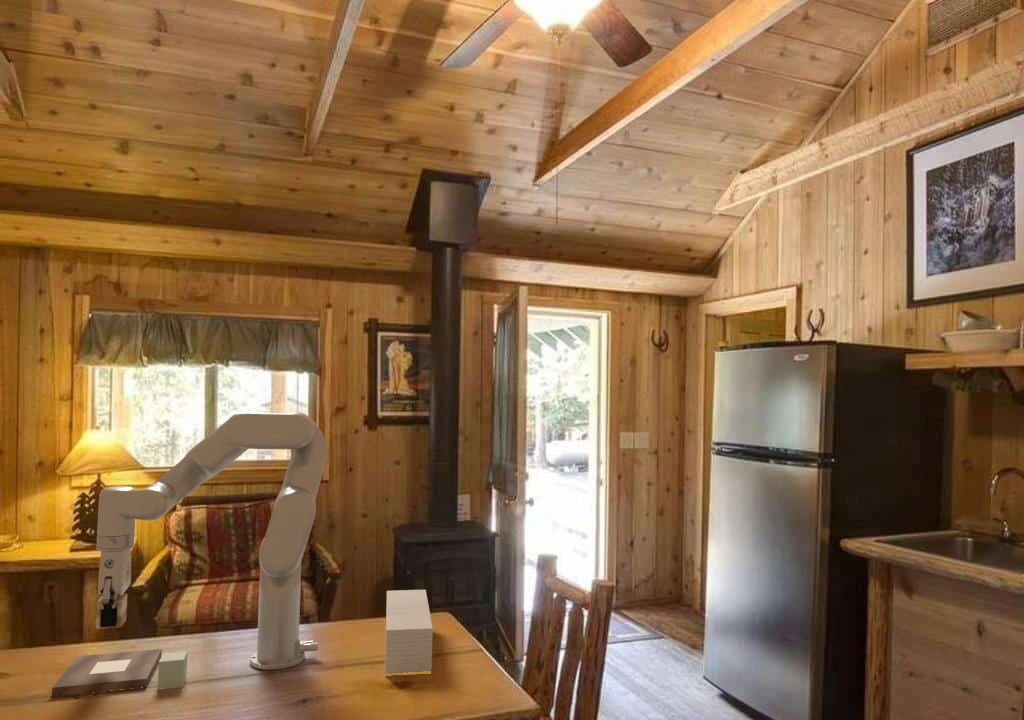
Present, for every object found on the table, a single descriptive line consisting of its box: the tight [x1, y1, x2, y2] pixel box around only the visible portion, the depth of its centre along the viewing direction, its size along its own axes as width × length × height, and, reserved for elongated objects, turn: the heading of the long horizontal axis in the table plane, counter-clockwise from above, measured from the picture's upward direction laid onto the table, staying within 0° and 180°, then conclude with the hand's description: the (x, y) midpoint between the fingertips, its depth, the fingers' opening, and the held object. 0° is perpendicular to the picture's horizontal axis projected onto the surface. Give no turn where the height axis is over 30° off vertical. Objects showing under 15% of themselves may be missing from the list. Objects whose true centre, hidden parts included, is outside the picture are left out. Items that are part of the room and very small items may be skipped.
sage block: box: [157, 651, 188, 690], centre depth 155 cm, size 5×5×6 cm
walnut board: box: [51, 648, 163, 698], centre depth 159 cm, size 18×18×2 cm
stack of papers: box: [384, 589, 434, 675], centre depth 178 cm, size 32×11×11 cm, turn 10°
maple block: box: [95, 593, 128, 630], centre depth 159 cm, size 5×5×6 cm
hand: (111, 621), depth 159 cm, fingers closed on maple block, 4 cm apart
